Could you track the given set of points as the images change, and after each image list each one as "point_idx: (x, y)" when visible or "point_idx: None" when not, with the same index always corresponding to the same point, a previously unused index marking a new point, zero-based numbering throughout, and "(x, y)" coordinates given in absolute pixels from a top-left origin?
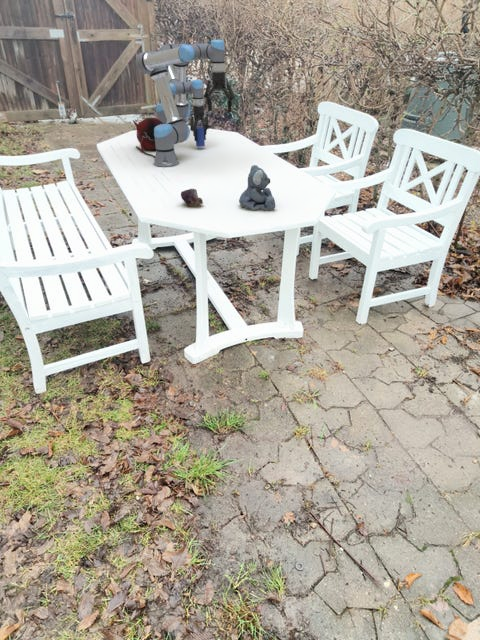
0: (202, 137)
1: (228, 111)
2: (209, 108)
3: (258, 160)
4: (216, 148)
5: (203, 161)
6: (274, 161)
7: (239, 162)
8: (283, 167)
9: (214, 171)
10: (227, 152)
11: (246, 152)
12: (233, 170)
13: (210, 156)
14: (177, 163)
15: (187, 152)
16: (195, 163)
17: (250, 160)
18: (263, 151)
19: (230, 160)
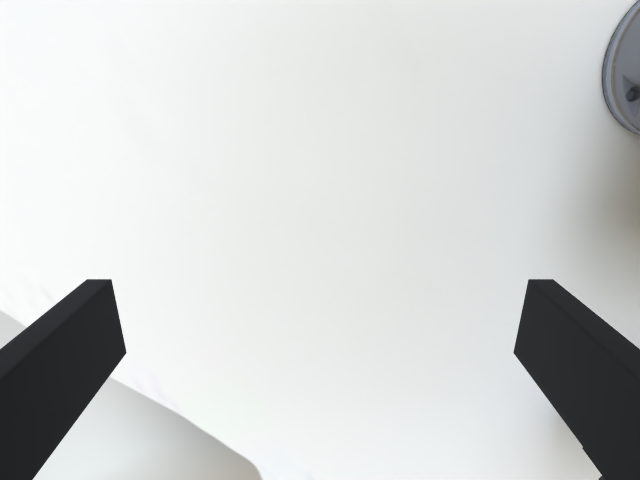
0: None
1: (85, 292)
2: (554, 309)
3: (207, 343)
4: (505, 432)
5: (469, 206)
6: (129, 359)
7: (273, 274)
8: (27, 291)
9: (308, 49)
10: (421, 397)
11: (333, 430)
12: (218, 124)
13: (473, 305)
14: (604, 81)
15: (630, 318)
16: (497, 149)
17: (242, 327)
18: (269, 470)
19: (336, 286)
